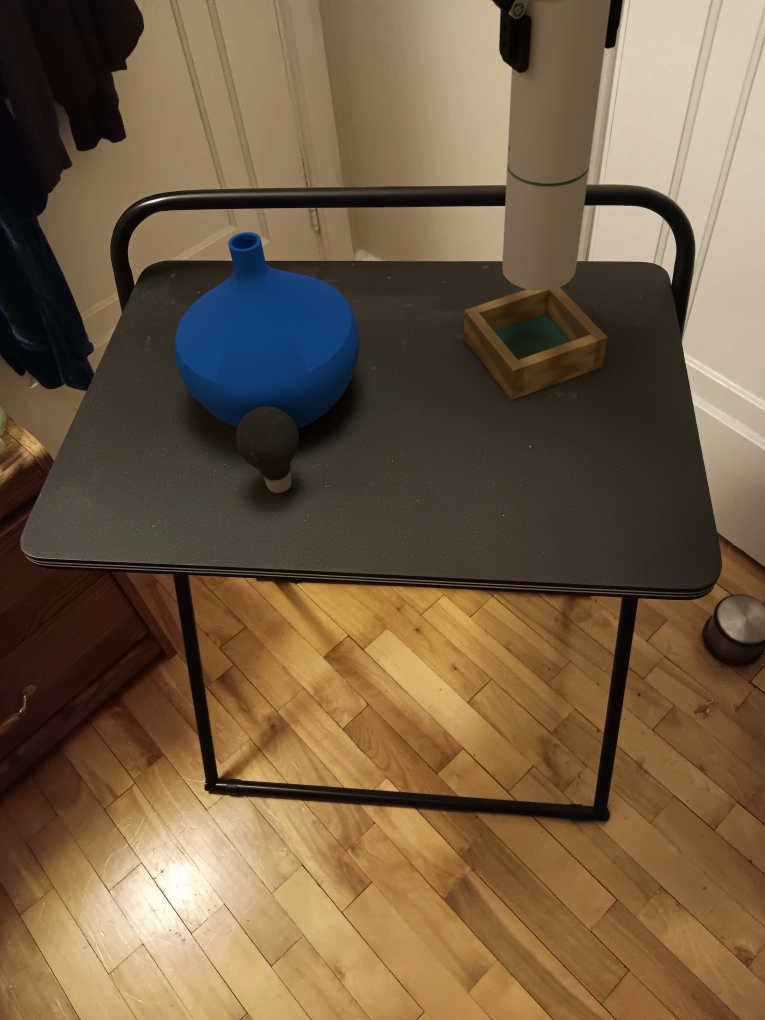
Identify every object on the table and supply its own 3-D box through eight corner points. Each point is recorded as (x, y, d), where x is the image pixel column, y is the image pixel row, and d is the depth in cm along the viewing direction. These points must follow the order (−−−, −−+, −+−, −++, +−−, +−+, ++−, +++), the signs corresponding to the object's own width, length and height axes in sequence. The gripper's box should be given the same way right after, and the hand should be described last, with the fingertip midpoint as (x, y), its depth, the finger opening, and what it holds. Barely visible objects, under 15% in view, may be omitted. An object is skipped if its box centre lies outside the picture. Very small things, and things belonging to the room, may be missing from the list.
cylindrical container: (574, 246, 83) (609, -36, 64) (577, 290, 79) (616, 1, 59) (502, 247, 84) (515, -32, 65) (501, 290, 80) (515, 5, 60)
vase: (200, 350, 94) (152, 196, 79) (360, 334, 94) (342, 176, 79) (188, 471, 82) (129, 317, 68) (371, 452, 82) (352, 294, 67)
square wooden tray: (549, 310, 94) (552, 280, 91) (602, 367, 88) (607, 337, 84) (463, 339, 92) (464, 309, 89) (511, 400, 86) (513, 370, 82)
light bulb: (252, 470, 82) (230, 396, 74) (308, 463, 82) (292, 389, 74) (251, 514, 78) (229, 442, 71) (310, 507, 78) (294, 434, 71)
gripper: (489, -208, 48) (482, 100, 62) (738, -257, 51) (679, 45, 65) (434, -229, 53) (439, 62, 66) (666, -274, 56) (625, 13, 70)
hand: (558, 52), depth 66 cm, fingers closed on cylindrical container, 7 cm apart
